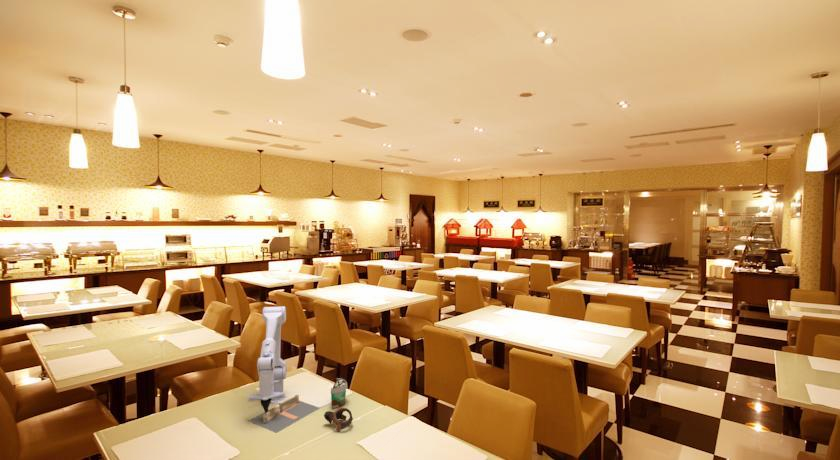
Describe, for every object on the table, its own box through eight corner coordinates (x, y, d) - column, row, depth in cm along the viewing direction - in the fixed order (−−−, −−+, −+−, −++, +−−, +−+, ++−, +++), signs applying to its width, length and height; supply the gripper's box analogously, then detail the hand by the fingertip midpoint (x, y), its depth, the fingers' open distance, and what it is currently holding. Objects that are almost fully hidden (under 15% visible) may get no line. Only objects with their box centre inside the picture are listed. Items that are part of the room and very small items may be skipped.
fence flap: (277, 412, 176) (277, 404, 176) (280, 413, 176) (280, 405, 176) (262, 422, 168) (262, 414, 167) (265, 423, 167) (265, 415, 167)
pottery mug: (352, 419, 173) (355, 407, 169) (347, 440, 165) (351, 428, 161) (325, 413, 172) (327, 401, 168) (318, 433, 164) (321, 421, 160)
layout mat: (247, 421, 170) (247, 420, 170) (292, 398, 190) (292, 398, 190) (276, 433, 161) (276, 432, 161) (320, 408, 181) (320, 407, 181)
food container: (344, 411, 179) (344, 389, 179) (330, 410, 179) (330, 388, 179) (349, 398, 191) (349, 377, 191) (337, 398, 192) (337, 377, 191)
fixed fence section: (278, 412, 177) (277, 403, 177) (297, 402, 186) (297, 394, 186) (280, 413, 176) (280, 404, 176) (299, 403, 185) (299, 395, 185)
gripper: (246, 389, 165) (246, 422, 166) (283, 386, 169) (283, 418, 169) (249, 382, 172) (249, 414, 173) (285, 379, 175) (285, 410, 176)
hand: (266, 415), depth 171 cm, fingers closed, pressing on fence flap
